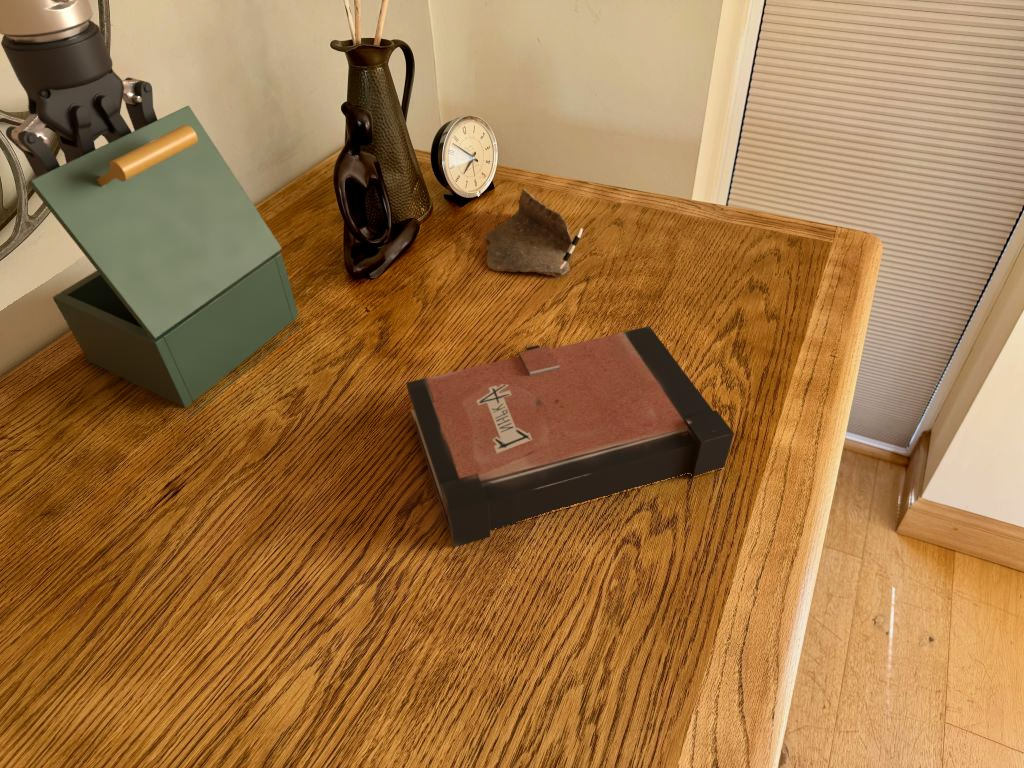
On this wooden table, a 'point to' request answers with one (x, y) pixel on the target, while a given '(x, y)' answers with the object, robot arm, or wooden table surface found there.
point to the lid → (159, 218)
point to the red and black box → (561, 429)
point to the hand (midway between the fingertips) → (149, 263)
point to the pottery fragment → (531, 240)
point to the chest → (181, 332)
